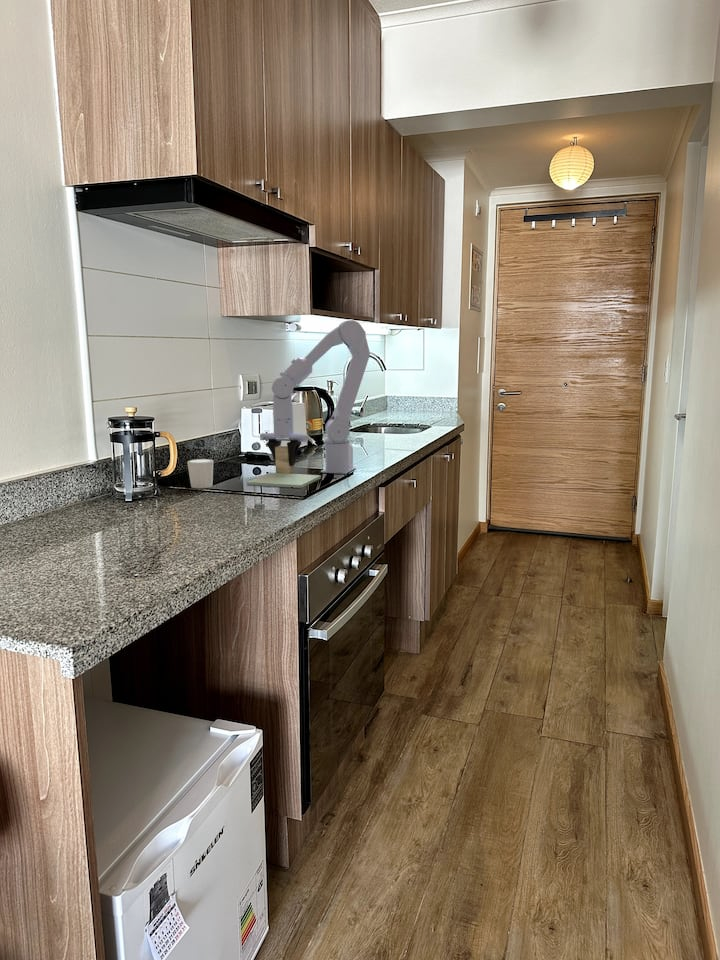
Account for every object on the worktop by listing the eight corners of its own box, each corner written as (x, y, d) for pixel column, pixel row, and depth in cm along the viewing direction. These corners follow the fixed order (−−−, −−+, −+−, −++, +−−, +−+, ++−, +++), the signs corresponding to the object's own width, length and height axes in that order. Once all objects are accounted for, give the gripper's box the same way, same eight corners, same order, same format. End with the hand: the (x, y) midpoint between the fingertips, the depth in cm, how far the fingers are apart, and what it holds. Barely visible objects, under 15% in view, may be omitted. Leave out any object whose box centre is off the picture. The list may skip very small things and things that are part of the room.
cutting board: (269, 475, 196) (269, 472, 196) (320, 478, 191) (320, 475, 191) (247, 484, 183) (246, 481, 183) (301, 488, 178) (301, 485, 178)
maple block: (281, 471, 201) (280, 445, 200) (294, 472, 200) (293, 445, 198) (275, 474, 198) (275, 447, 196) (288, 474, 196) (287, 447, 195)
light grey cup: (184, 488, 179) (182, 462, 178) (196, 483, 186) (194, 458, 185) (207, 489, 178) (206, 463, 176) (219, 484, 184) (217, 458, 183)
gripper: (254, 420, 194) (256, 466, 197) (300, 421, 190) (302, 468, 192) (265, 417, 201) (267, 462, 203) (310, 418, 196) (311, 464, 199)
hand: (284, 465), depth 198 cm, fingers closed on maple block, 4 cm apart
